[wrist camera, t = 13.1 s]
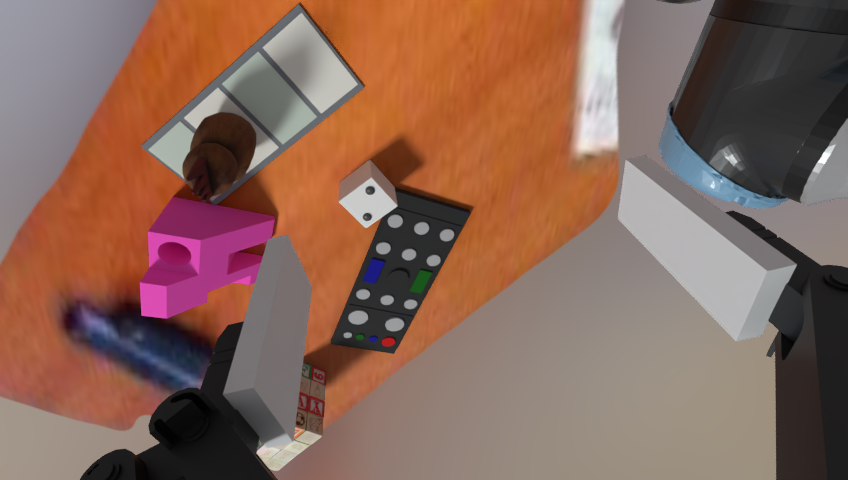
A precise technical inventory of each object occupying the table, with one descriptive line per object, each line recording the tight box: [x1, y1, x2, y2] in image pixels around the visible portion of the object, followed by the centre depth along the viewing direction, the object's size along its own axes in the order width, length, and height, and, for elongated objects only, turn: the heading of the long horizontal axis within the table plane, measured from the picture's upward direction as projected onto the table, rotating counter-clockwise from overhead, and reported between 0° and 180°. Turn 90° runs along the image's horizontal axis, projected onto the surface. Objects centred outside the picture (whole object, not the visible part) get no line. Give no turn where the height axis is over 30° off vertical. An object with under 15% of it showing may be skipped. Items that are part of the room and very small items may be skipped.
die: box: [338, 160, 398, 228], centre depth 51 cm, size 5×5×5 cm
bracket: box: [140, 197, 275, 318], centre depth 51 cm, size 12×10×10 cm
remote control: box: [331, 188, 470, 354], centre depth 63 cm, size 11×30×2 cm, turn 157°
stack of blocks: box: [257, 362, 326, 471], centre depth 71 cm, size 21×6×12 cm, turn 135°
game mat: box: [141, 4, 364, 206], centre depth 46 cm, size 24×10×1 cm, turn 125°
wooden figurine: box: [182, 112, 256, 202], centre depth 41 cm, size 7×6×15 cm
